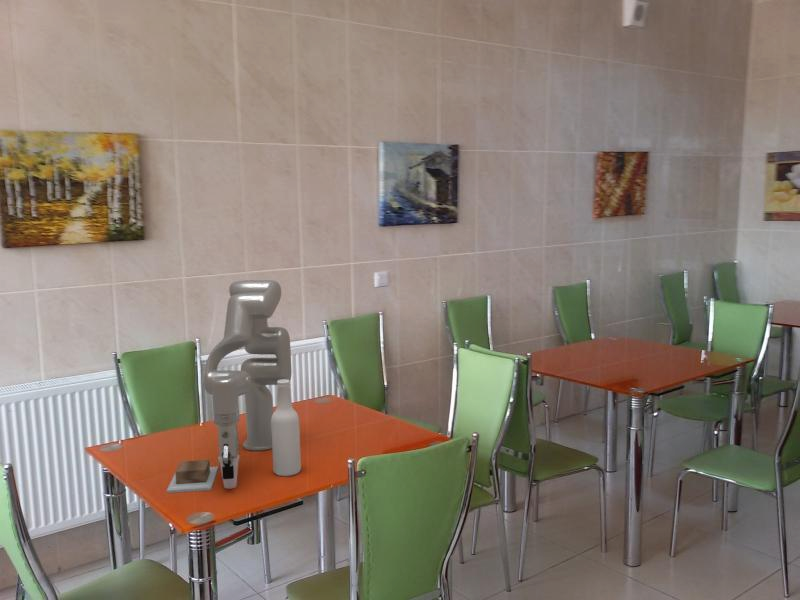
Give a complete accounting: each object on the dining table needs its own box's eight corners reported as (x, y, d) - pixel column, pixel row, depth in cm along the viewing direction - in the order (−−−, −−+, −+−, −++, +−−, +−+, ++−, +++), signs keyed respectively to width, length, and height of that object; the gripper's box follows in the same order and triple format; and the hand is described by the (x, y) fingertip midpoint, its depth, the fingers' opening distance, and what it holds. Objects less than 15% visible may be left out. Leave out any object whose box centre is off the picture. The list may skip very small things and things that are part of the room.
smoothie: (221, 482, 228) (218, 439, 226) (242, 481, 229) (240, 438, 227) (218, 490, 222) (215, 446, 220) (239, 489, 222) (237, 445, 220)
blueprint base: (218, 468, 240) (217, 454, 240) (211, 490, 222) (210, 474, 222) (177, 471, 239) (176, 457, 238) (166, 493, 221) (165, 477, 220)
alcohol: (278, 479, 230) (274, 385, 226) (269, 470, 238) (265, 379, 234) (305, 473, 234) (301, 381, 230) (295, 465, 242) (291, 375, 238)
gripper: (236, 425, 214) (239, 484, 217) (241, 408, 231) (244, 463, 234) (210, 426, 213) (213, 486, 216) (217, 410, 230) (220, 465, 233)
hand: (229, 473), depth 225 cm, fingers closed on smoothie, 6 cm apart
